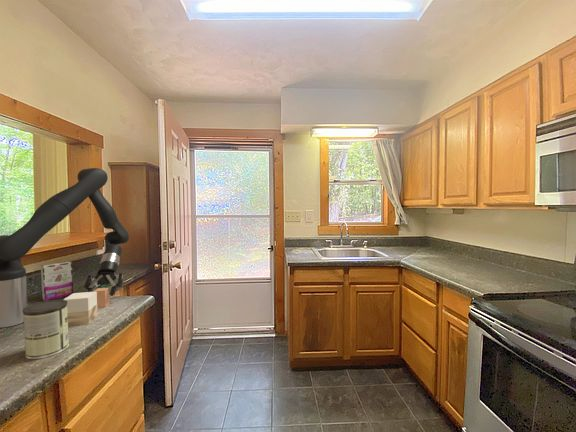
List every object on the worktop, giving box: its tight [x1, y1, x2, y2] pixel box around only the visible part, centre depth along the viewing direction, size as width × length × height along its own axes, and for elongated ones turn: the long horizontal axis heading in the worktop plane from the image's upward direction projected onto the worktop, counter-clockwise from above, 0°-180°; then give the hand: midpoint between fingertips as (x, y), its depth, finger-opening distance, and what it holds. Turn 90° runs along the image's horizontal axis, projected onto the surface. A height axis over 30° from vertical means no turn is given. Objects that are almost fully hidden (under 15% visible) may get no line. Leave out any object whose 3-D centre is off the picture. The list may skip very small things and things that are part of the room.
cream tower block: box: [63, 291, 97, 313], centre depth 107 cm, size 8×8×5 cm
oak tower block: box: [67, 304, 99, 327], centre depth 107 cm, size 8×8×5 cm
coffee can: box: [23, 299, 70, 360], centre depth 85 cm, size 10×10×14 cm
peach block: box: [93, 286, 110, 309], centre depth 123 cm, size 4×4×8 cm
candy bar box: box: [40, 261, 74, 302], centre depth 135 cm, size 11×5×16 cm, turn 143°
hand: (100, 296), depth 122 cm, fingers open, 8 cm apart
